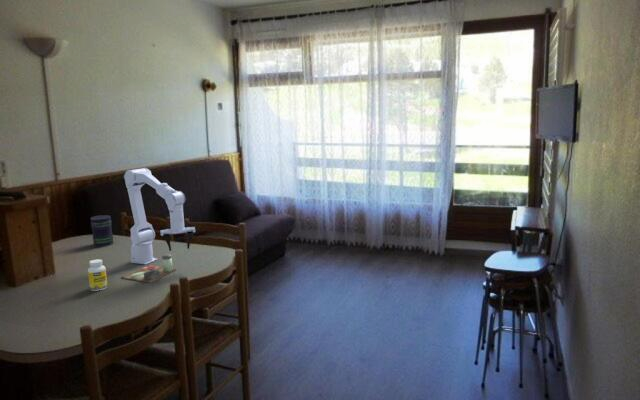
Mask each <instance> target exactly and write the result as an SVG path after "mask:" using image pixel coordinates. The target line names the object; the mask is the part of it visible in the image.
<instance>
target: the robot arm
mask: <svg viewBox="0 0 640 400" xmlns="http://www.w3.org/2000/svg"><path fill="white" fill-rule="evenodd" d="M123 178H124V181H125V182H124V183H125V186H126V187H125V188H127V193H128V198H129V203H130V207H131V212H132V217H133V221H134V225H133V226H132V227H131V228H130V230H129V231H130V241H131V243H132V244H131V246H130V254H131V255H130V257H131V258H130V259H131V261H130V263H132V264H133V263H134V264H140V265H149V264H150V263H152V262H155V261H157V260H158V258H156V257H154V251H153V242H154V240H155V238H156V232H155V230H154V228H153V225H152V224H151V223H149V222H148V221H147V216H146V212H145V207H144V206H145V205H144V201H143V197H142V192H141V188H142V187H143V186H144V185H145V184H147V185H149V186H150V187H152V188H153V189H155V192H156V194H157V195H158V196H160V197H161V198H162V199H164V202H165V203H166V205H167V209H168V211H169V221H170V228H166V229H162V230H161V229H160V230H159V231H160V236H161V237H163V239H164V240H165V242H166V245H167V246H168V250H169V252H171V251H172V247H171V238H170V235H177V234H186V239H187V240H186V244H187V245H186V246H187V247H186V248H187V249H188V250H189V249H190V247H191V241H192V238H193V236H194V233H196V228H195V227H196V226H191V227H189V226H187V227H185V219H184V218H185V217H184V203H186V196H185V193H183V192H182V191H181V190H175V189H174V188H172V186H170V185H168V183H167V182H162V183H161V182H160V180H158V179H157V178H156V177H155V176H154V175H152V171H151V170H150V169H148V168H147V167H142V168H136V169H128V170H126V171H125V173H124V175H123Z"/></svg>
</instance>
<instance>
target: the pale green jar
mask: <svg viewBox="0 0 640 400" xmlns="http://www.w3.org/2000/svg"><path fill="white" fill-rule="evenodd" d="M161 261H162V267H163V271H164V272H171V271H173V268H174V267H173V258H172V254H170V253H164V254H162V255H161Z"/></svg>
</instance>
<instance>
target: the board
mask: <svg viewBox="0 0 640 400" xmlns="http://www.w3.org/2000/svg"><path fill="white" fill-rule="evenodd" d="M147 266H150V264H146V265H144V266H143V267H141V268H138V269H136V270H134V271H131V272H129V273H127V274H124V275H122V276H121V277H120V278H121V279H125V280H130V281H131V280H132V281H136V282H137V281H138V282H144V283H154V282H155V281H158V280H160V279H162V278H164V277H165V276H167V275H169V274H171V273H174V272H176V271H177V268H175V267H173V271H171V272H164V271H163V266H158V265H154V266H155V269H154V270H152V271H149V270H148V269H147Z"/></svg>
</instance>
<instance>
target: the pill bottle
mask: <svg viewBox="0 0 640 400" xmlns="http://www.w3.org/2000/svg"><path fill="white" fill-rule="evenodd" d="M89 266H90V267H88V268H87V275H88V284H89V285H88V286H89V289H90V291H92V292H99V290H100V291H103V290H105V289H107V287H108V280H107V279H108V278H107V269H106V266H105V265H103V259H98V258H97V259H91V260H89Z"/></svg>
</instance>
